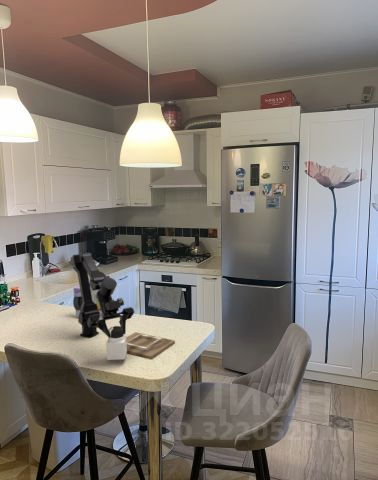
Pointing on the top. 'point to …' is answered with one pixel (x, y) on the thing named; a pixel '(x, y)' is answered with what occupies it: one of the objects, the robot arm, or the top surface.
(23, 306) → the top surface
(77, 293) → the cake pan box
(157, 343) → the walnut stand
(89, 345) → the top surface
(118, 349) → the medicine bottle
